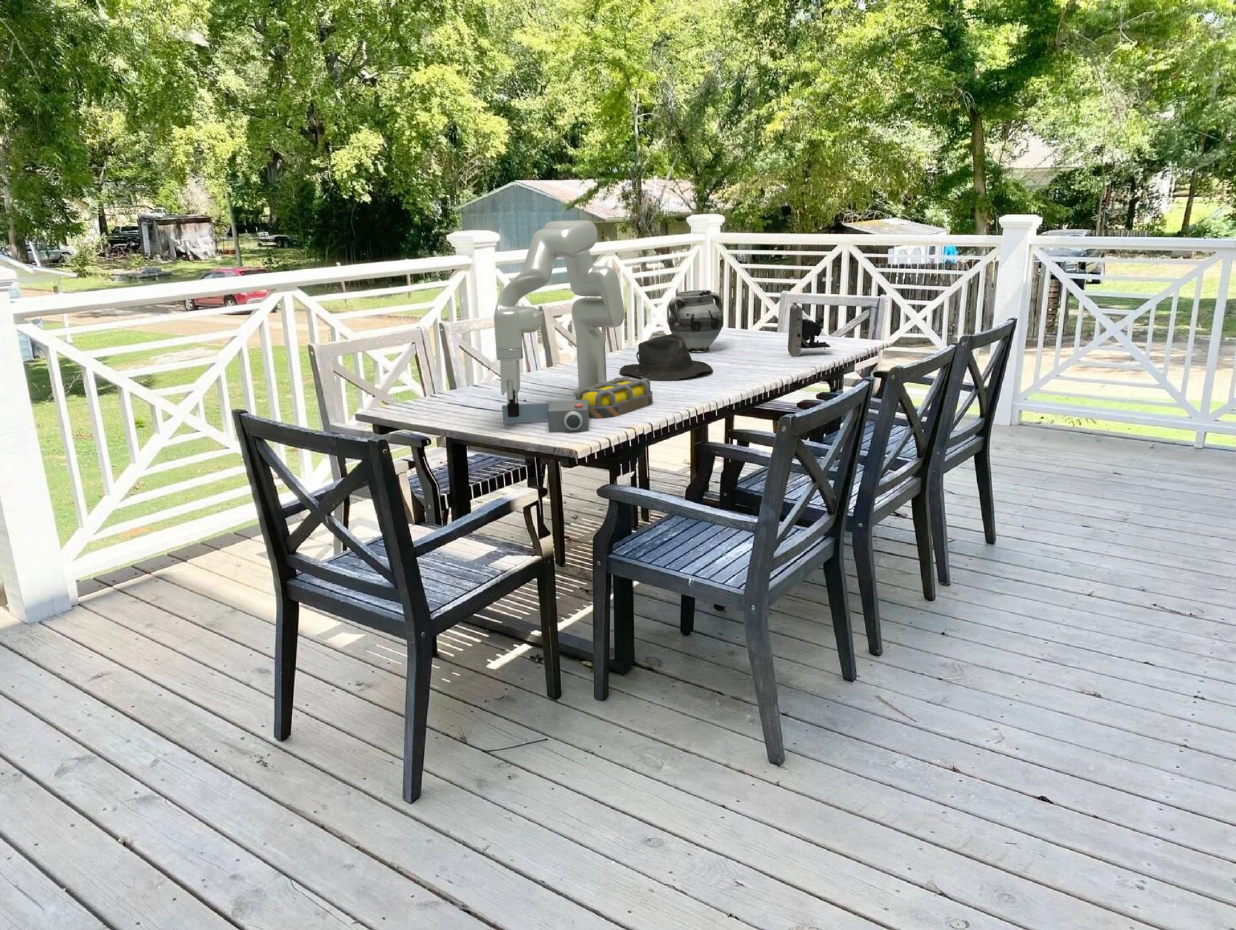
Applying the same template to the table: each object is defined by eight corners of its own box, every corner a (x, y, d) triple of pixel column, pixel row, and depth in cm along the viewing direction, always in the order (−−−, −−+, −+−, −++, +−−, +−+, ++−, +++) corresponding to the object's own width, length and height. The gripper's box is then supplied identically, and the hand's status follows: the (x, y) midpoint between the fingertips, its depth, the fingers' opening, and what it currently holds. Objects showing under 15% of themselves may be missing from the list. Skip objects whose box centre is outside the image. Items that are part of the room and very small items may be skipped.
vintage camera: (830, 357, 363) (833, 305, 358) (791, 357, 364) (793, 305, 358) (825, 353, 373) (828, 303, 368) (787, 353, 373) (789, 303, 368)
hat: (668, 385, 320) (667, 344, 316) (603, 374, 346) (601, 336, 342) (731, 372, 340) (731, 333, 336) (664, 362, 366) (664, 326, 362)
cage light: (564, 390, 278) (624, 373, 301) (565, 416, 281) (624, 397, 303) (602, 394, 270) (661, 377, 292) (603, 421, 272) (661, 402, 295)
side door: (550, 419, 275) (549, 401, 273) (551, 420, 274) (550, 402, 272) (503, 422, 273) (501, 404, 271) (503, 423, 272) (502, 405, 270)
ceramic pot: (689, 358, 370) (688, 295, 363) (652, 352, 388) (650, 292, 381) (740, 349, 387) (739, 288, 381) (702, 344, 405) (701, 286, 398)
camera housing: (552, 420, 274) (550, 398, 272) (589, 419, 274) (588, 396, 272) (548, 433, 259) (547, 409, 257) (588, 432, 259) (587, 408, 257)
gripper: (499, 350, 271) (503, 411, 276) (493, 358, 257) (498, 422, 262) (524, 349, 272) (528, 410, 276) (520, 357, 257) (524, 421, 262)
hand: (513, 416), depth 269 cm, fingers closed
